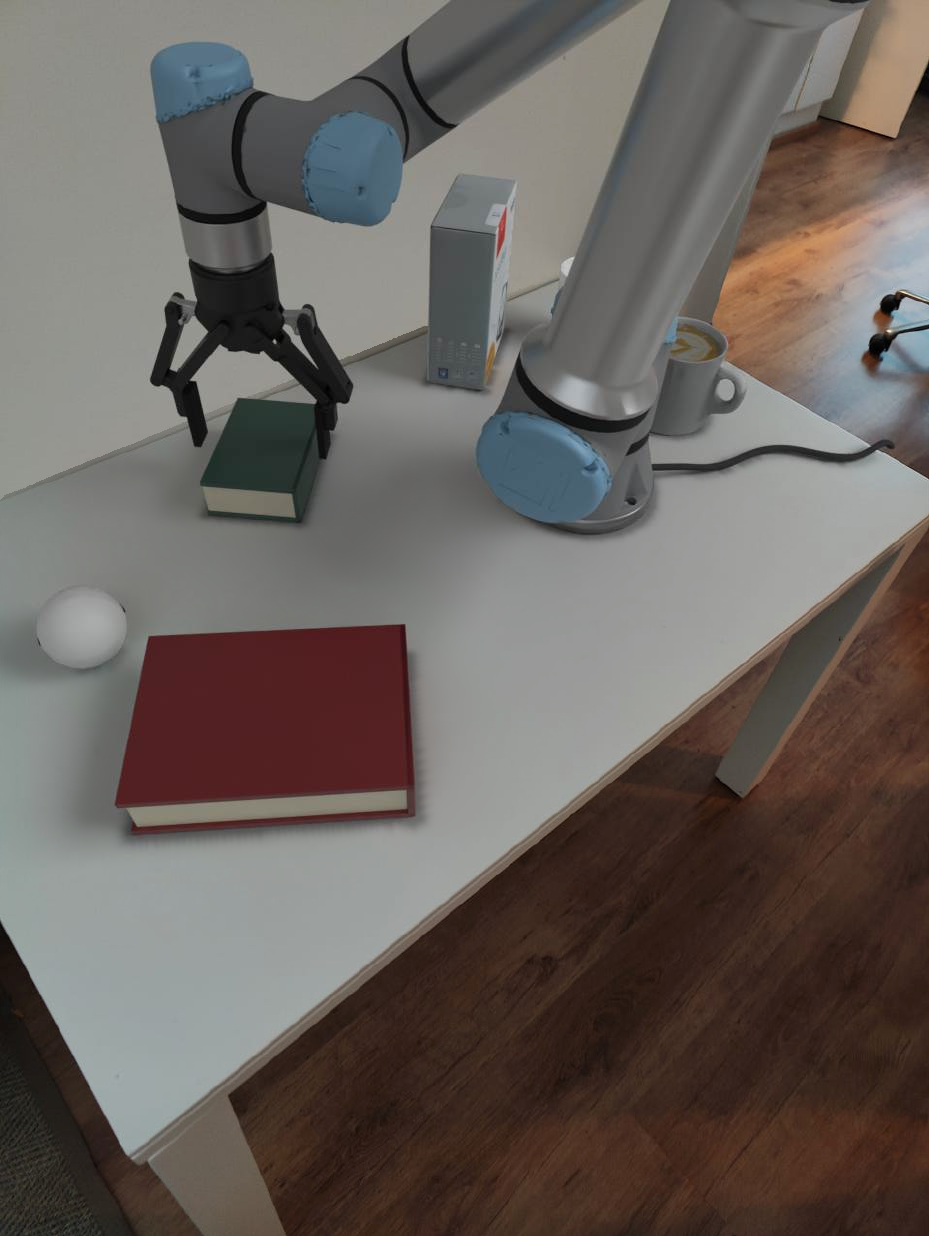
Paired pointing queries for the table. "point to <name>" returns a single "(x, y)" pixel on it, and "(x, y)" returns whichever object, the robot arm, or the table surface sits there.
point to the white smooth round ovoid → (81, 627)
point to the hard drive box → (469, 279)
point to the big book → (270, 730)
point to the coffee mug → (695, 380)
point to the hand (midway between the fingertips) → (263, 445)
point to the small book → (263, 462)
